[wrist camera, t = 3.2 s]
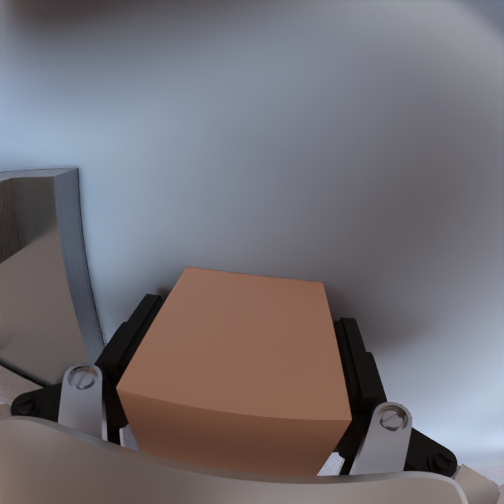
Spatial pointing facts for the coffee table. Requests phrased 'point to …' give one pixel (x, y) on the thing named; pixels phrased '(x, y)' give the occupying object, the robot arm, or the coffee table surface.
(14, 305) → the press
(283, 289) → the block
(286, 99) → the coffee table surface
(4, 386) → the light grey sliding block
